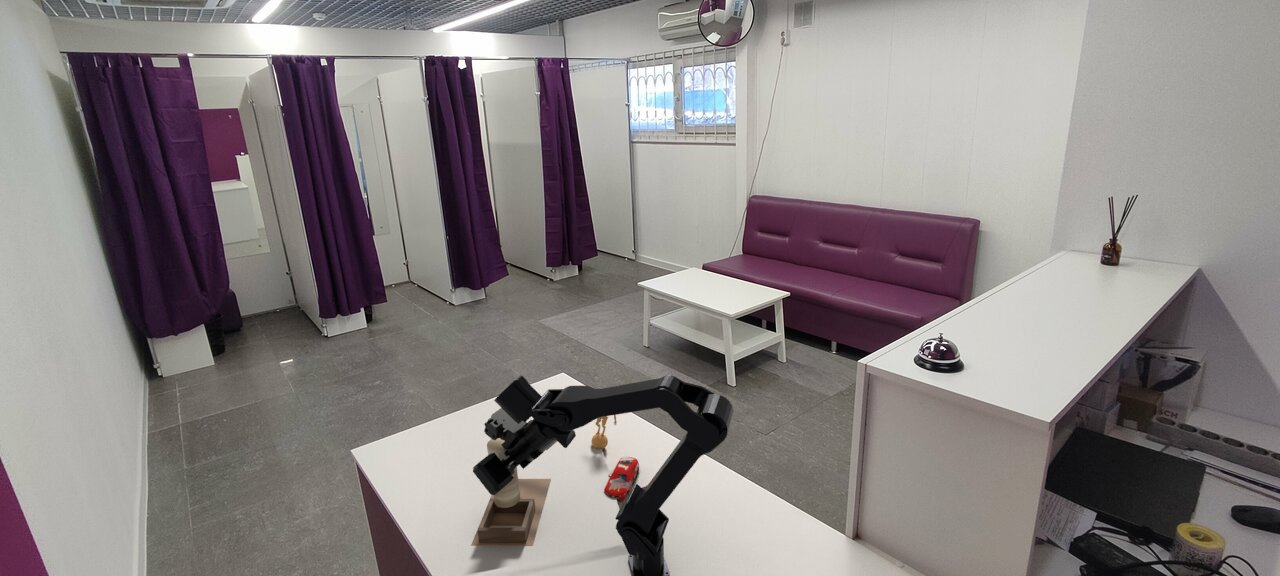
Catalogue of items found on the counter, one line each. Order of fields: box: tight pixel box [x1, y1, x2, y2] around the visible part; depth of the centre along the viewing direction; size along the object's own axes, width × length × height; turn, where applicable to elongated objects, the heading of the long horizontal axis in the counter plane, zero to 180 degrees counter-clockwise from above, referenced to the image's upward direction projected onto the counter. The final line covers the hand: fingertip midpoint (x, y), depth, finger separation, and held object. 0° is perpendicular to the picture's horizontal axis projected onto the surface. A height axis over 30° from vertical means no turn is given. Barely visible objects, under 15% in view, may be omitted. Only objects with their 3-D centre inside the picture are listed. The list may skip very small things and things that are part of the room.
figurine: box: [591, 415, 617, 450], centre depth 142 cm, size 8×6×12 cm
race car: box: [603, 456, 640, 502], centre depth 130 cm, size 13×5×4 cm, turn 162°
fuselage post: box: [486, 438, 520, 508], centre depth 114 cm, size 5×5×13 cm
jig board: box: [470, 478, 552, 547], centre depth 121 cm, size 20×12×4 cm, turn 178°
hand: (498, 470), depth 114 cm, fingers closed on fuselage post, 5 cm apart
